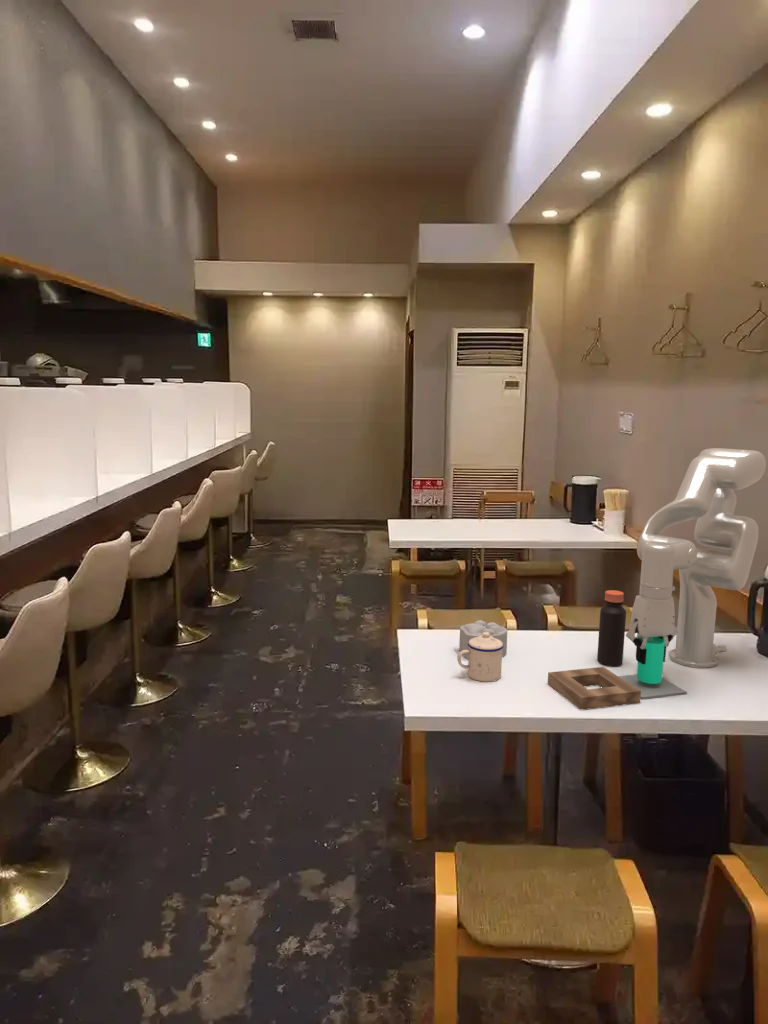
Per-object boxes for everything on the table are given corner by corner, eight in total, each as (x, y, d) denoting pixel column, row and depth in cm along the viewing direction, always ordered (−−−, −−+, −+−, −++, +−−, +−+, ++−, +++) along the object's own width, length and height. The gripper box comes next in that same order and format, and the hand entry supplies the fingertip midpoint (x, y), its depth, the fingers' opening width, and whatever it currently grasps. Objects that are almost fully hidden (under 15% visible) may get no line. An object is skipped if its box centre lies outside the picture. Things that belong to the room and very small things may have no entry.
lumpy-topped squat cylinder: (456, 648, 210) (457, 619, 209) (499, 646, 213) (500, 617, 211) (467, 661, 200) (468, 631, 199) (512, 659, 203) (513, 629, 201)
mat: (653, 674, 193) (654, 672, 193) (686, 694, 180) (687, 691, 180) (610, 679, 189) (611, 677, 189) (641, 699, 177) (641, 697, 177)
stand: (602, 677, 190) (603, 666, 190) (640, 702, 175) (641, 690, 174) (547, 683, 186) (548, 672, 185) (581, 709, 171) (581, 697, 170)
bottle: (610, 656, 205) (615, 588, 202) (627, 665, 199) (633, 594, 196) (591, 660, 202) (596, 590, 199) (608, 668, 196) (613, 597, 193)
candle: (661, 676, 186) (664, 631, 184) (662, 685, 181) (665, 639, 179) (636, 673, 188) (639, 628, 186) (636, 681, 183) (639, 636, 181)
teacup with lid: (494, 668, 196) (496, 626, 194) (507, 681, 187) (509, 637, 185) (452, 670, 193) (453, 628, 191) (462, 684, 184) (463, 640, 183)
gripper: (674, 585, 187) (669, 653, 190) (616, 589, 182) (612, 659, 185) (694, 593, 180) (688, 663, 183) (635, 598, 175) (630, 670, 178)
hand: (650, 660), depth 184 cm, fingers closed on candle, 4 cm apart
